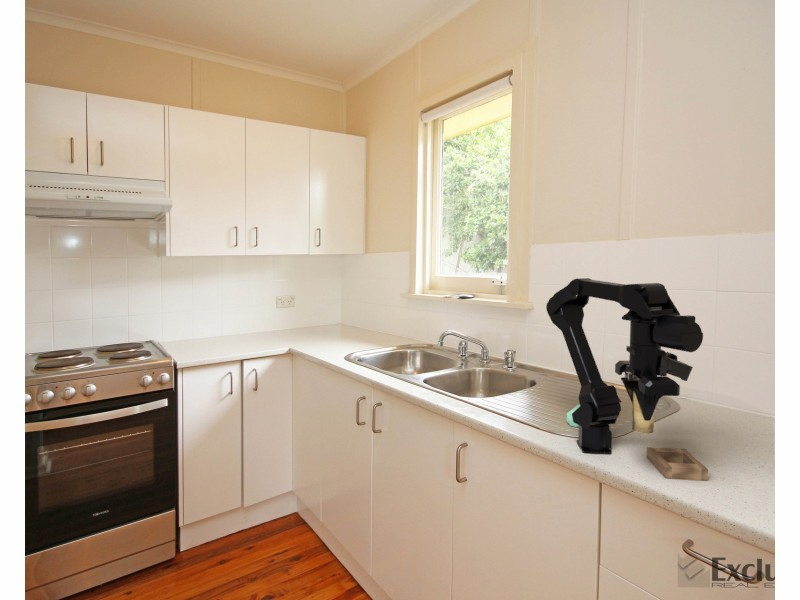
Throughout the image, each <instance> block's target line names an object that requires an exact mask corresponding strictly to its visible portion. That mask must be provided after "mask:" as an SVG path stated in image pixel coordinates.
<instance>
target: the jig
mask: <svg viewBox="0 0 800 600" xmlns="http://www.w3.org/2000/svg"><path fill="white" fill-rule="evenodd" d="M646 460H648V461H649V462H650V463H651V464H652V466H653V467H654V468H656V470H657V471H658V472H659V474H661V476H662V477H663V478H665V479H667V480H681V481H682V480H684V481H685V480H687V481H703V482H704V481H706V482H708V479H709V478H708V475H709V469H708V467H706V466H705V465H704V464H703V463H702V462H700V461H699V460H698V459H697V458H696V457H695V456H694V455H692V453H690V452H689V451H688V450H687V449H685V448H673V447H656V446H655V447H651V446H650V447H649V446H647V447H646Z"/></svg>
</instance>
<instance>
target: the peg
mask: <svg viewBox="0 0 800 600" xmlns="http://www.w3.org/2000/svg"><path fill="white" fill-rule="evenodd" d="M631 424H632V425H631V428H632V431H634V432H637V433H640V434H653V433H654V431H655V430H654V429H655V428H654V427H655V411H654V412H653V415H652V417H651V420H650V421H645V420H644V418H643V415H642V413H641V410H640V406H639V403H638V400H637V397H636V394H635V391H633V404H632V421H631Z"/></svg>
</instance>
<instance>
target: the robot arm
mask: <svg viewBox="0 0 800 600" xmlns="http://www.w3.org/2000/svg"><path fill="white" fill-rule="evenodd" d="M590 298H596V299H601V300H605V301H612V302H616V303H618V304H619V305H620V306H621V307H622V308H625V309H627V310H628V312H627V313H625V314H624V315H622V316H621V319H622V320H623V321H629V324H630V326H629V327H630V328H629V329H630V330H629V345H627V346H626V352H627V353H629V359H628V360H618V361H617V362H616V363H615V364H614V373H616V374H617V375H618V376H622V374H624V377H620V380H621V381H622V384H623V386H624V388H625V390H626V393H627V395H628V397H629V399H630V402H631V404H632V405H633V391H635V394H636V397H637V400H638V403H639V406H640V410H641V413H642V415H643V418H644V420H645V421H650V420H651V417H652V415H653V412H654V413H655V410H656V408H657V405H658V403H659V400H660V399H661V398H662V397H664V396H665V397H678V396H680V392H681V391H680V390H681V386H680V384H679V383H677V382H676V381H675V379H672V378H670V376H667V375H671V376H673V377H676V378H678V379H680V380H682V381H684V382H688V379H689V377H690V375H691V372H692V370H693V366H691V365H689V364H687V363H685V362H683V361H681V360H678V356H677V355H676V354H674V353H671V352H668V351H666V350H664V349H662V348H666V349H671V350H677V351H680V352H687V353H694V352H696V351H697V350H698V349H699V348H700V347H701V346H702V344H703V339H704V333H703V332H702V328H701V326H700V324H698V323H697V322H696V316H695V315H691V314H690V315H689V314H688V315H681V313H680V311H679V310H678V308H677V307H676V306H675V303H674V301H673V300H672V299H671V297H670V296H669V293H668V291H667V289H666V285H664V284H662V283H659V282H653V283H652V282H651V283H648V282H647V283H627V284H623V283H618V282H617V283H616V282H609V281H602V280H595V279H591V278H585V277H583V278H574V279H572V280H571V281H570V282H569V283H568V284H567V285H566V286H564V287H563V288H562V289H559V290H558V291H556V292H555V293H554V294H553V295H552V297H550V298H549V299H548V301H547V303H546V307H545V308H546V312H547V315H548V316H549V319H550V320H551V322H552V324H553V325H554V326H556V327H557V328H558V330H559V331H561V333H562V335H563V338H564V341H565V344H566V346H567V349H568V352H569V355H570V358H571V360H572V363H573V366H574V369H575V373H576V375H577V378H578V380H579V384H580V389H579V394H578V401H579V404H580V407H579V408H578V409H577V410H575V411H574V412H573V413H572V418H573V422H574V423H576V424H578V425H579V427H578V439H577V440H576V443H577V445H578V447H579V449H580V451H581V452H582V453H584V452H585V453H587V454H603V453H607V455H609V454H610V455H611V454H612V450H611V449H612V443H613V442H612V441H613V439H612V438H613V431H611V429H610V428H611V427H610V425H615V424H616V422H617V419H618V417H619V416H620V413H621V412H622V406H621V403H622V400H621V399H620V398H619V395H618V391H617V388H616V387H615V385H614V384H613V385H608V384H607V383H606V382H605V381H604V380H603V379H602V376H601V374H600V373H601V372H600V371H599V370H600V369H598V365H597V362H596V360H595V358H594V355H593V352H592V349H591V347H590V344H589V341H588V339H587V336H586V333H585V331H584V327H583V320H584V317H585V312H584V308H585V307H586V305H588V304H589V301H590ZM585 453H584V454H585Z"/></svg>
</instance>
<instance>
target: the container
mask: <svg viewBox="0 0 800 600" xmlns="http://www.w3.org/2000/svg"><path fill="white" fill-rule="evenodd" d="M579 407H580V403H579V404H578V405H576V406H575V407H573V408H572V409H571V410H569V411H567V413H566V422H567V423H568V424H569V426H571V427H575V428H579V425H578V424H576V423H574V422H573V418H572V413H573V412H574V411H575V410H577V409H578V408H579Z"/></svg>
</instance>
